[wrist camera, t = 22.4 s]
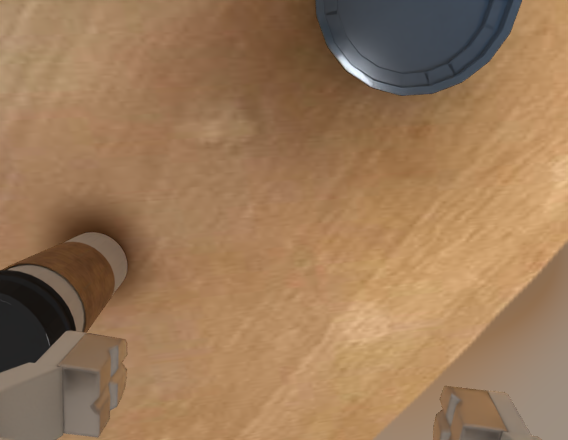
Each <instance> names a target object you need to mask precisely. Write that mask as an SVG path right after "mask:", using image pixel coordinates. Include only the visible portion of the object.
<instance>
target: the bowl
mask: <svg viewBox="0 0 568 440" xmlns="http://www.w3.org/2000/svg"><path fill="white" fill-rule="evenodd" d="M521 2H522V0H316V16H317V19H318V22H319V25H320V28H321V31H322V33H323V36H324V39H325V42H326V45H327V47H328V49H329V50H330V51H331V53H332V54H333V55H334V57H335V58H336V59H337V60H338V62H339V63H340V64H341V66H342V67H343V68H344V70H346V72H348V73H349V74H351V75H352V76H354V77H355V78H357V79H358V80H360V81H361V82H363V83H364V84H366V85H367V86H369V87H371V88H374V89H378V90H381V91H385V92H389V93H393V94H396V95H401V96H405V95H422V94H433V93H436V92H438V91H441V90H444V89H446V88H449V87H451V86H454V85H457V84H459V83H462V82H464V81H465V80H466V79H467V78H469V77H470V76H471V75H473V74H474V73H475V72H476V71H478V70H479V69H480V68H482V67H483V66H484V65H486V64H487V63H488V62H489V61H490V60H491V59H492V57H493V56H494V55H495V53H496V52H497V51H498V49H499V48H500V46H501V45H502V44H503V42H504V41H505V40H506V38H507V37H508V35H509V34H510V32H511V30H512V27H513V24H514V21H515V19H516V16H517V13H518V10H519V8H520V5H521Z"/></svg>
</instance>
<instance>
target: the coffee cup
mask: <svg viewBox="0 0 568 440" xmlns="http://www.w3.org/2000/svg"><path fill="white" fill-rule="evenodd" d="M126 274H127V259H126V256H125V253H124V251H123V250H122V248H121V247H120V245H119V244H118V243H117V242H116V241H115V240H113V239H112V238H110V237H109V236H107V235H104V234H101V233H96V232H89V233H84V234H81V235H78V236H76V237H74V238H72V239H70V240H68V241H66V242H64V243H61V244H58V245H56V246H54V247H51V248H49V249H47V250H45V251H42V252H40V253H38V254H35V255H33V256H31V257H28V258H26V259H24V260H22V261H19V262H17V263H15V264H12V265H10V266H8V267H6V268H5V269H3V270H0V373H1V372H4V371H7V370H9V369H12V368H15V367H18V366H20V365H23V364H26V363H29V362H30V363H36V361H37V360H38V359H39V358H40V357H41V356H42V355H43V354H44V353H45V352H46V351H47V350H48V349H49V348H50V347H51V346H52V345H53V344H54V343H55V342H56V341H57V340H58V339H59V338H60V337H61V336H62V335H63V334H64V333H65V332H66V331H78V332H85V333H86V332H87V331H88V330H89V328H90V327H91V325H92V324H93V322H94V321H95V320H96V318H97V317H98V315H99V314H100V313H101V311H102V310H103V308H104V307H105V305H106V304H107V303H108V301H109V300H110V298H111V296H112V295H113V294H114V292H115V291H116V290H117V288H118V287H119V286H120V285H121V283H122V282H123V280H124V279H125V276H126Z"/></svg>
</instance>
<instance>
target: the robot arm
mask: <svg viewBox="0 0 568 440" xmlns="http://www.w3.org/2000/svg"><path fill="white" fill-rule="evenodd" d="M126 356H127V342H126V340H125V339H121V338H115V337H109V336H103V335H97V334H91V333H85V332H78V331H66V332H65V333H64V334H63V335H62V336H61V337H60V338H59V339H58V340H57V341H56V342H55V343H54V344H53V345H52V346H51V347H50V348H49V349H48V350H47V351H46V352H45V353H44V354H43V355H42V356H41V357H40V358H39V359H38V360H37V361H36V363H30V362H29V363H26V364H23V365H20V366H18V367H15V368H12V369H9V370H7V371H4V372H1V373H0V440H56V439H58V438H59V437H61V436H62V435H63V433H66V434H74V435H83V436H91V437H99V436H100V434H101V432H102V431H103V429H104V427H105V426H106V424H107V422H108V421H109V419H110V410H112V409H114V408H115V407H117V406H118V404H119V402H120V400H121V398H122V395H123V392H124V389H125V385H126V379H127V369H126V368H125V366H124V365H123V363H122V362H123V360H124V359H125V357H126ZM440 402H441V405H442V408H443V409H442V410H441V411H440V412H439V413H438V414H436V417H435V422H434V428H433V440H542V439H540V438H539V437H537V436H532V435H531V434H530V432H529V430H528V428H527V427H526V425H525V423H524V421H523V420H522V418H521V416H520V415H519V413H518V411H517V409H516V407H515V406H514V404H513V402H512V400H511V399H510V397H509V395H508V394H506V393H505V392H495V391H486V390H476V389H468V388H459V387H451V386H444V388H443V390H442V393H441V397H440Z"/></svg>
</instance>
